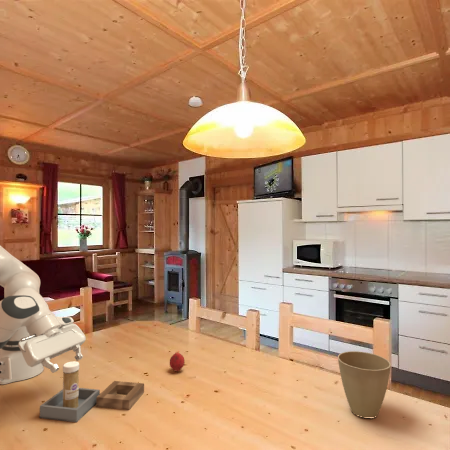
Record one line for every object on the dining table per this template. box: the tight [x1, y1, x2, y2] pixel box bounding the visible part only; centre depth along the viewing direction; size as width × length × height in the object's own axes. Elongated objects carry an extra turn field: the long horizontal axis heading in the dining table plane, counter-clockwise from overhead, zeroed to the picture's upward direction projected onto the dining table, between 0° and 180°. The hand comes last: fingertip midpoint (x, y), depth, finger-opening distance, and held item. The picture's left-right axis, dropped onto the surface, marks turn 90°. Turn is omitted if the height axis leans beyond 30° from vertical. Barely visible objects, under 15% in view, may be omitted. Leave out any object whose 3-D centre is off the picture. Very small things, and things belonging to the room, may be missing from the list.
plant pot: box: [337, 350, 392, 417], centre depth 99 cm, size 15×15×16 cm
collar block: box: [95, 380, 145, 411], centre depth 106 cm, size 11×11×3 cm
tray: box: [39, 387, 101, 423], centre depth 100 cm, size 12×12×4 cm
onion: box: [169, 350, 186, 373], centre depth 127 cm, size 6×6×8 cm
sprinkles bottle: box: [62, 360, 80, 408], centre depth 100 cm, size 5×5×14 cm
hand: (68, 364), depth 102 cm, fingers open, 8 cm apart
